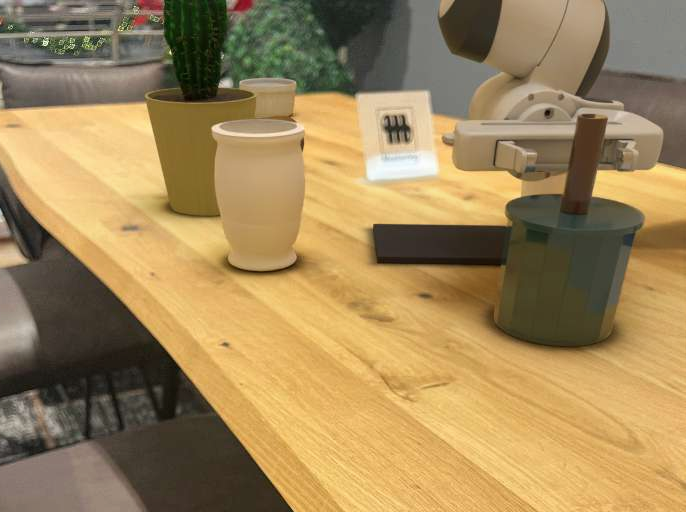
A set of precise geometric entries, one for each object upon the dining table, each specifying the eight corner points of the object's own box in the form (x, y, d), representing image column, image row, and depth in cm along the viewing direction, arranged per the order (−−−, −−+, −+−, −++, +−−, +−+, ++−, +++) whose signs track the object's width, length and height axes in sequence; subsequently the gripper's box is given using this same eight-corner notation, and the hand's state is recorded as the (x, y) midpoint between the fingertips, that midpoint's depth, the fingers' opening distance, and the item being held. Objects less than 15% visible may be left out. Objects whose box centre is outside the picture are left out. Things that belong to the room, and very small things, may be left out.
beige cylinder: (561, 218, 109) (571, 166, 105) (512, 214, 111) (520, 162, 107) (564, 206, 114) (574, 156, 110) (518, 202, 116) (526, 152, 112)
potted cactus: (203, 226, 105) (183, -42, 87) (135, 205, 113) (104, -43, 96) (282, 205, 114) (278, -41, 96) (213, 187, 122) (198, -42, 105)
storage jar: (593, 303, 82) (616, 202, 76) (626, 347, 73) (655, 236, 67) (485, 301, 83) (500, 200, 76) (504, 345, 73) (523, 234, 67)
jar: (285, 280, 87) (283, 138, 79) (204, 269, 90) (194, 131, 82) (317, 253, 96) (318, 121, 87) (241, 243, 98) (236, 115, 90)
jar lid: (618, 206, 77) (642, 105, 72) (661, 245, 67) (693, 130, 61) (493, 205, 77) (507, 104, 72) (517, 243, 67) (536, 128, 62)
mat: (505, 231, 104) (506, 225, 103) (525, 265, 92) (526, 258, 92) (372, 229, 104) (373, 223, 104) (377, 263, 93) (377, 256, 92)
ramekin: (275, 122, 171) (274, 87, 167) (228, 116, 177) (226, 82, 173) (307, 114, 180) (307, 80, 176) (262, 108, 186) (261, 76, 182)
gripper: (441, 101, 79) (471, 125, 67) (634, 100, 80) (696, 124, 68) (435, 166, 82) (463, 199, 71) (620, 165, 83) (676, 197, 72)
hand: (579, 162), depth 70 cm, fingers open, 8 cm apart
